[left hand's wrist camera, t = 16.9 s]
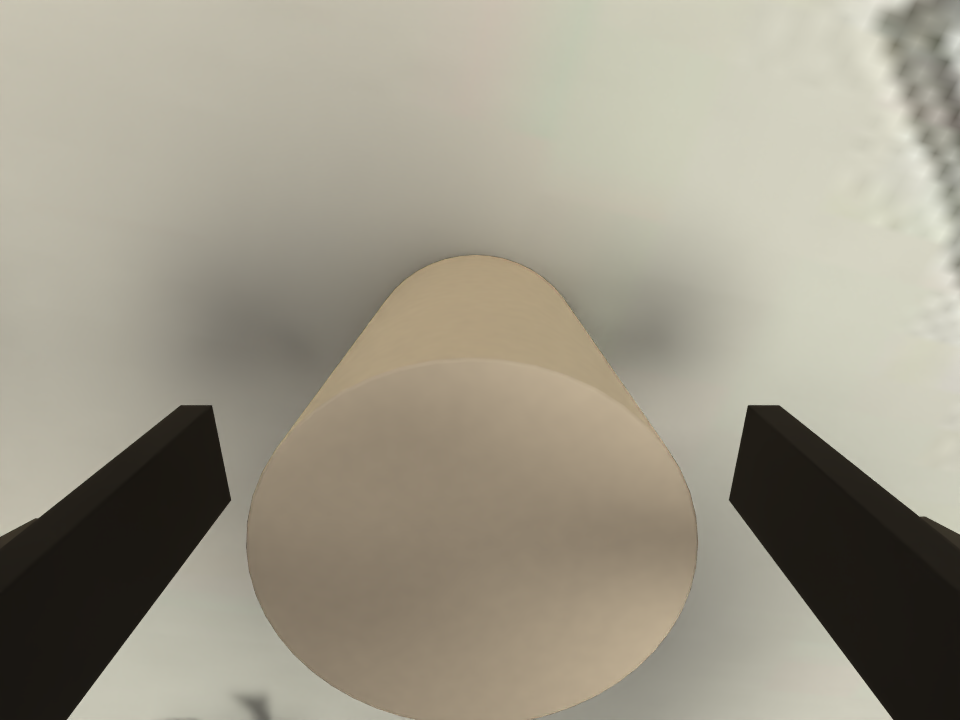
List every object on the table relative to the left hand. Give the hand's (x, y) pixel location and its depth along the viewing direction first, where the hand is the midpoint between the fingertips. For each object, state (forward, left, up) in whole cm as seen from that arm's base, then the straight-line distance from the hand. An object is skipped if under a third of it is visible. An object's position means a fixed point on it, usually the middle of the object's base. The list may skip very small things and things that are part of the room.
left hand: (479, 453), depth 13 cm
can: (0, 0, -7) cm, 7 cm away
